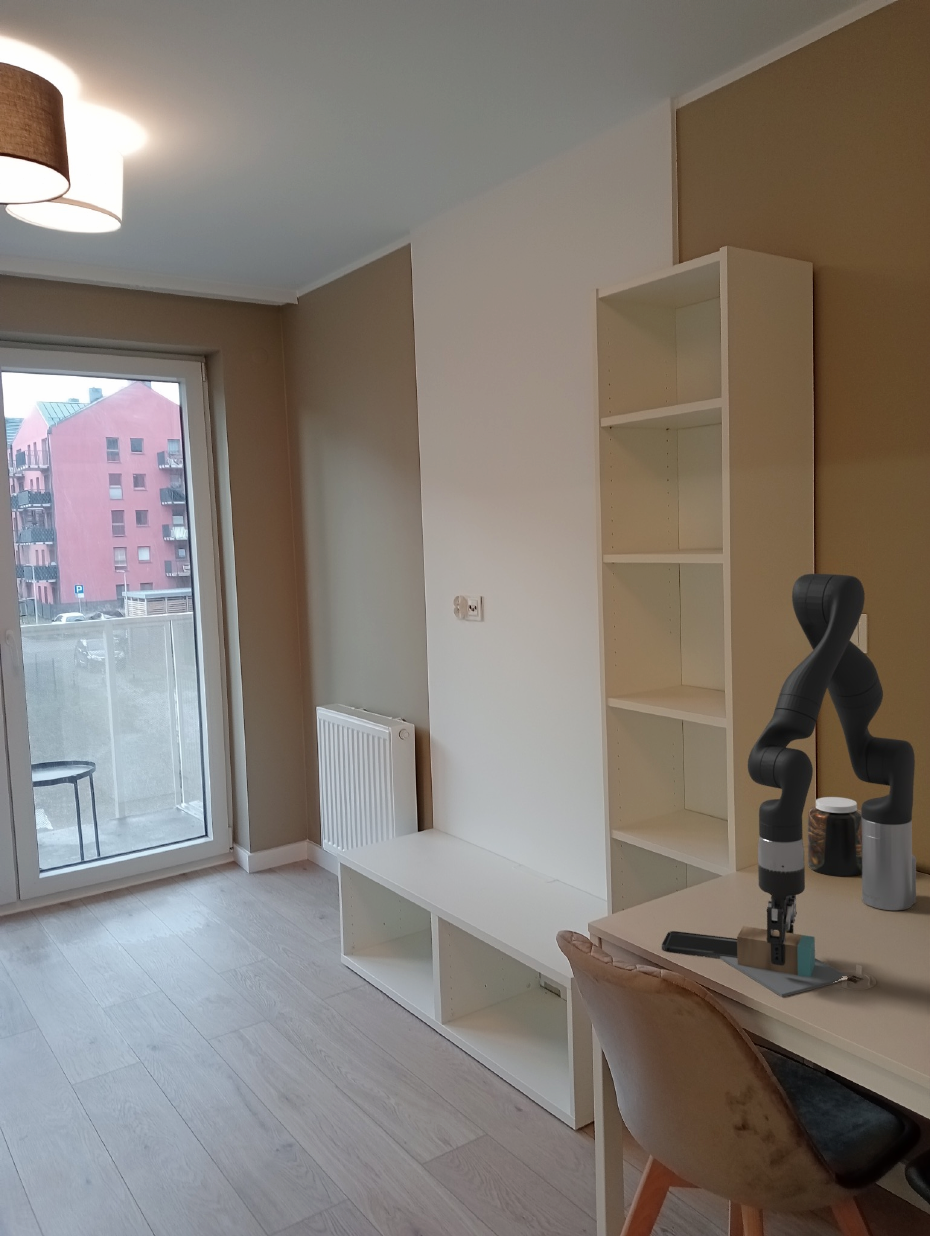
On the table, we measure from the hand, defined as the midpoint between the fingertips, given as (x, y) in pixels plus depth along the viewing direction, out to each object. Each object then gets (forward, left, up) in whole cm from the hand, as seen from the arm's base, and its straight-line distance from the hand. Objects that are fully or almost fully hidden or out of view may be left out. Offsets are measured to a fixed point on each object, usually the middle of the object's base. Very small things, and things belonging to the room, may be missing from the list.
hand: (782, 954), depth 165 cm
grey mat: (0, 0, -3) cm, 3 cm away
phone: (+6, -13, -3) cm, 15 cm away
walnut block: (+4, -6, 0) cm, 7 cm away
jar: (-44, -34, -3) cm, 56 cm away
